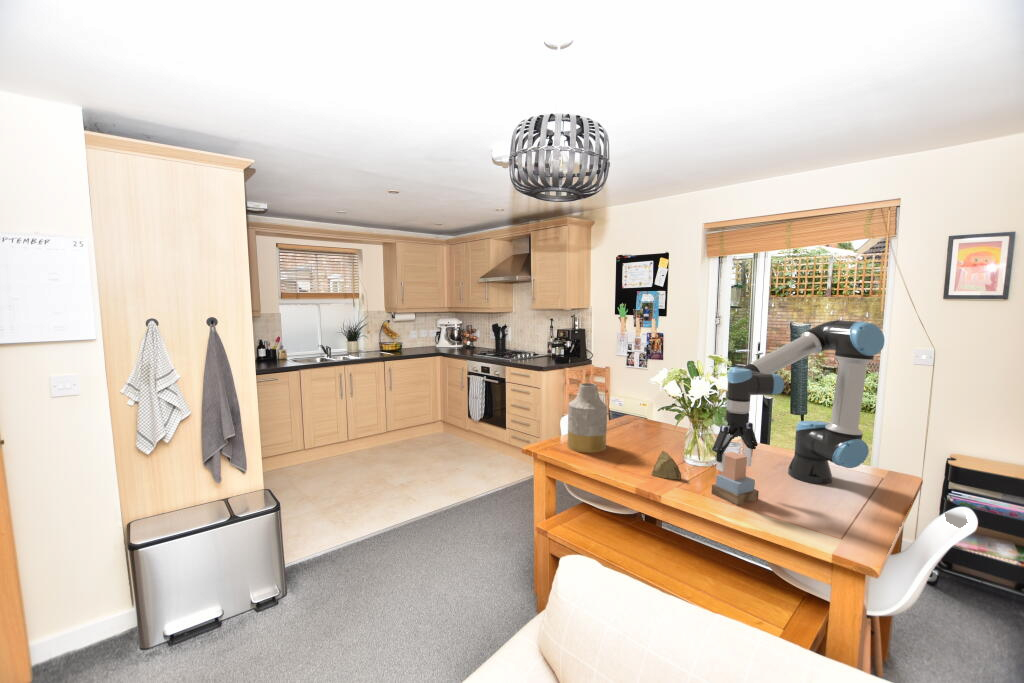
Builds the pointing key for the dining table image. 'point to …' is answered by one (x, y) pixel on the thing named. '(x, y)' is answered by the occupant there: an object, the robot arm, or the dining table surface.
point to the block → (734, 466)
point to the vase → (587, 421)
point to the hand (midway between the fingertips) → (733, 467)
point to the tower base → (735, 496)
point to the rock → (666, 467)
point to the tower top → (736, 484)
